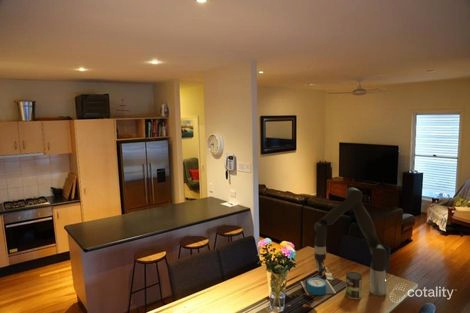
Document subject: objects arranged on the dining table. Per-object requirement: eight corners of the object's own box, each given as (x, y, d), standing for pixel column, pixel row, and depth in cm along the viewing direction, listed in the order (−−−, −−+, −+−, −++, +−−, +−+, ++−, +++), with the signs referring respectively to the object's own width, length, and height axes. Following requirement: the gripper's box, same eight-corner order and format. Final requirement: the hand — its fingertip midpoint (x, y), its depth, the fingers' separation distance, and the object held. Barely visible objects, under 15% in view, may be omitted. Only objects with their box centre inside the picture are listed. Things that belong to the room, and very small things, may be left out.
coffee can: (352, 300, 210) (353, 280, 208) (342, 292, 220) (342, 273, 218) (365, 297, 214) (365, 277, 212) (354, 289, 223) (354, 270, 222)
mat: (326, 280, 237) (326, 279, 237) (336, 293, 219) (336, 292, 219) (300, 282, 236) (300, 281, 236) (307, 295, 218) (307, 294, 218)
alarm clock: (312, 288, 214) (302, 277, 228) (313, 297, 215) (302, 285, 229) (330, 285, 218) (318, 274, 232) (330, 293, 219) (318, 282, 233)
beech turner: (323, 268, 255) (323, 267, 255) (328, 268, 255) (328, 267, 255) (327, 280, 237) (327, 278, 237) (333, 280, 237) (333, 278, 237)
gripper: (329, 255, 212) (329, 280, 214) (322, 247, 225) (322, 270, 227) (317, 256, 211) (318, 281, 213) (311, 248, 224) (311, 271, 226)
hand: (320, 275), depth 220 cm, fingers closed
